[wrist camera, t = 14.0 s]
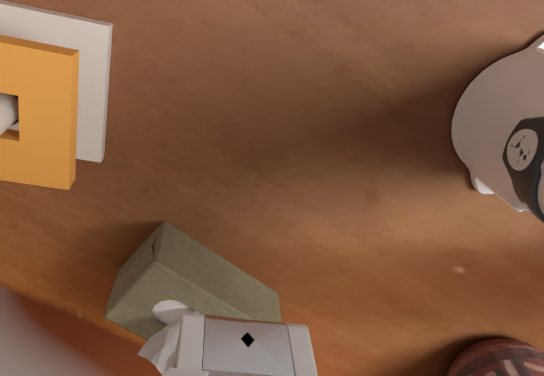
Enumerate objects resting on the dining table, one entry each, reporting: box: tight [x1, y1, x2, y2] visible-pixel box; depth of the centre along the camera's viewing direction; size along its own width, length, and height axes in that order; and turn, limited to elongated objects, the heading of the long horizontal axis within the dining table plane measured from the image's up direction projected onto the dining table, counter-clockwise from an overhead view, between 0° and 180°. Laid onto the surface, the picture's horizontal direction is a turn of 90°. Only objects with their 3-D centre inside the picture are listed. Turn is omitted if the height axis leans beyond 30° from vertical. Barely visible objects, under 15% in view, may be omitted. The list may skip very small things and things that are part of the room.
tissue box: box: [104, 221, 282, 375], centre depth 54 cm, size 19×10×16 cm, turn 48°
